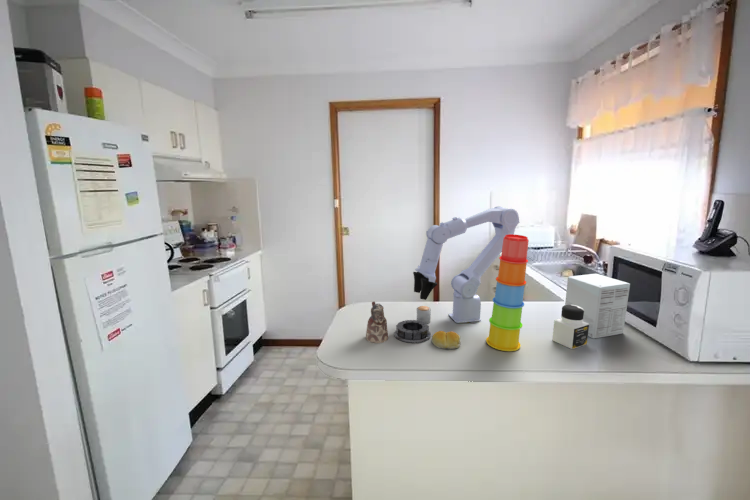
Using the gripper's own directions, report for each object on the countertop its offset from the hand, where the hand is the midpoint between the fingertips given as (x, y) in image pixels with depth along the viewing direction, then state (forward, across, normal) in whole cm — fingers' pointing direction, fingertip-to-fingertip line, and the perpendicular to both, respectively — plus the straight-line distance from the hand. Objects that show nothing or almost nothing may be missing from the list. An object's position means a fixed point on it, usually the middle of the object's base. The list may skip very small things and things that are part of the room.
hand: (419, 295), depth 132 cm
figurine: (+14, +10, -14) cm, 23 cm away
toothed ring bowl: (+11, +10, -3) cm, 15 cm away
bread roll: (+9, +18, +6) cm, 21 cm away
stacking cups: (+5, +22, +22) cm, 32 cm away
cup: (+9, 0, +4) cm, 10 cm away
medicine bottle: (-1, +25, +43) cm, 50 cm away
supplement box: (-5, +17, +57) cm, 60 cm away
